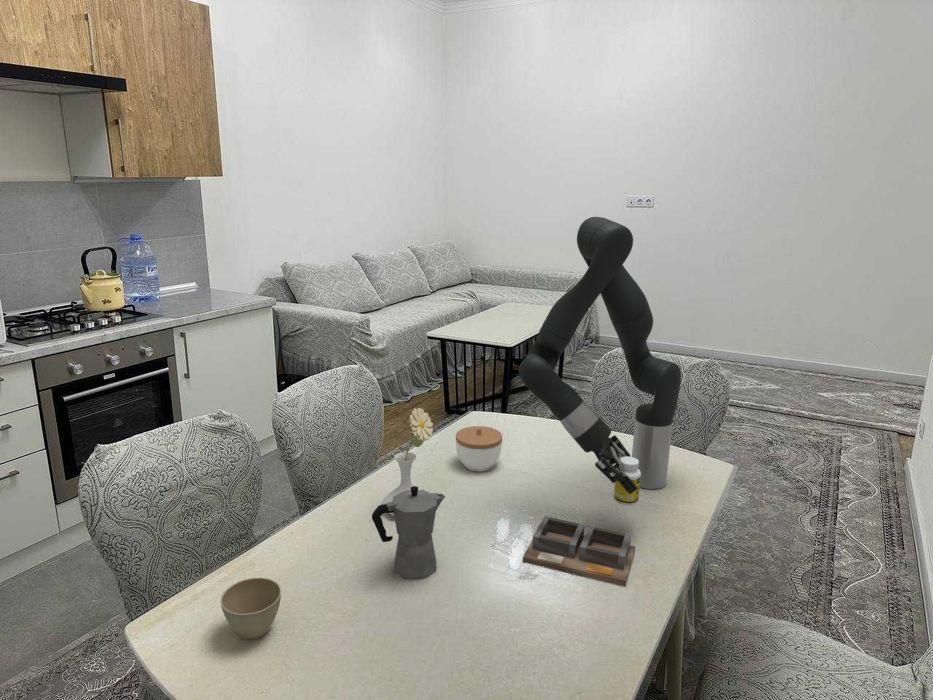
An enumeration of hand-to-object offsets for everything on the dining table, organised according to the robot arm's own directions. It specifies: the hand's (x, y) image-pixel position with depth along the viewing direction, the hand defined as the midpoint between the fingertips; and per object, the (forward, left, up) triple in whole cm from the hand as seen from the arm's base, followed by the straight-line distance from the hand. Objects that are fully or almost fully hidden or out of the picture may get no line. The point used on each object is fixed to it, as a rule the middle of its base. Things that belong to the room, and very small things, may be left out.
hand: (635, 484), depth 142 cm
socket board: (+14, -9, -12) cm, 20 cm away
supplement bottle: (0, -2, -5) cm, 5 cm away
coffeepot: (+31, -40, -12) cm, 52 cm away
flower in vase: (+10, -51, -12) cm, 53 cm away
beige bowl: (+58, -57, -12) cm, 82 cm away
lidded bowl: (-18, -44, -12) cm, 49 cm away
